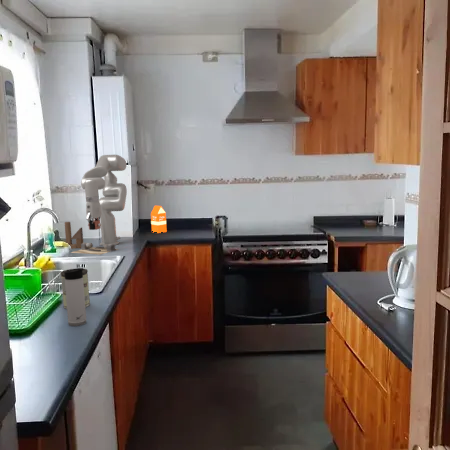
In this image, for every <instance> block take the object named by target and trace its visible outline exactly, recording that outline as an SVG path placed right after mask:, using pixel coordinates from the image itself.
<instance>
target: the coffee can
mask: <svg viewBox="0 0 450 450" xmlns="http://www.w3.org/2000/svg"><path fill="white" fill-rule="evenodd" d="M71 269H72V268H70V269H69V268H68V269H64V270H62V271H61V272H60V273H59V274H60V277H61V278H60V280H61V289H62V301H63V308H64V309H66V310H67V302H66V290H65V275H64V272H66V271H67V270H71ZM82 272H83V274H82V275H83V283H84V296H85V308H87V307H89V306H90V305H91V302H90V301H91V300H90V289H89V277H88V276H89V275H88V272H89V271H88V269H86V268H83V271H82Z"/></svg>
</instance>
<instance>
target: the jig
mask: <svg viewBox="0 0 450 450" xmlns="http://www.w3.org/2000/svg"><path fill="white" fill-rule="evenodd" d="M93 245H94V244H93V243H92V242H83V243H82V244H81V248H80V249H79V250H75V251H72V252H70V253H73V254H86V255H100V256H101V255H104V254H108V253H111V252H114V251H119V248H116V245H115V244H104V246H95V247H94V246H93Z"/></svg>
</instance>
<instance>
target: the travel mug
mask: <svg viewBox="0 0 450 450" xmlns="http://www.w3.org/2000/svg"><path fill="white" fill-rule="evenodd" d="M70 269H71V270H69V269H66V270H67V271H66V272H64V275H65V290H66V302H67V309H66V311H67V324H68V326H69V327H80V326H84V325H86V324H87V311H86V307H85V296H84V283H83V275H82V274H83V272H82V271H83V269H84V268H83V267H78V268H70Z"/></svg>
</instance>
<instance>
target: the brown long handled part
mask: <svg viewBox="0 0 450 450" xmlns="http://www.w3.org/2000/svg"><path fill="white" fill-rule="evenodd" d="M71 225H72V224H71V221H65V222H64V234H65V244H66V243H68V244H69V245H70V246H71V249H70V250H73V249H81V244H82V243H84V235H83V234H84V231H83V227H80V228H79V229H78V230H77V231H76V232H75V233H74V235H73V236H72V226H71ZM73 240H75V243H73Z"/></svg>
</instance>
